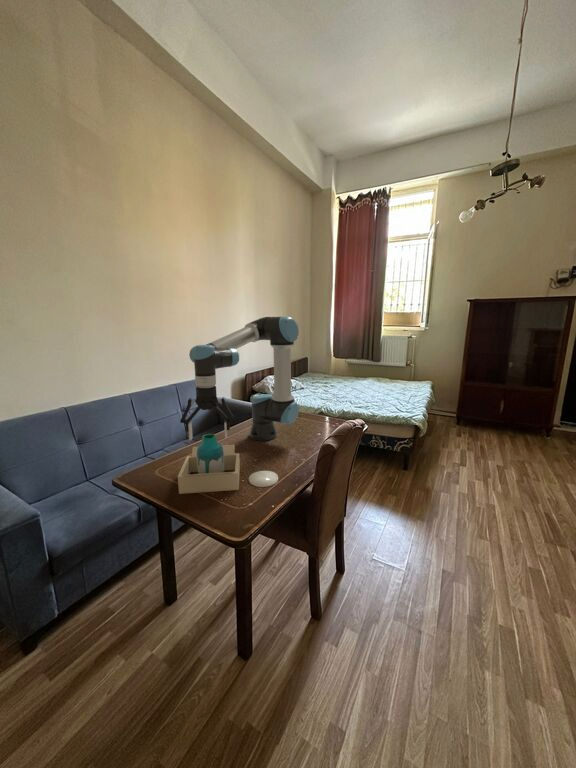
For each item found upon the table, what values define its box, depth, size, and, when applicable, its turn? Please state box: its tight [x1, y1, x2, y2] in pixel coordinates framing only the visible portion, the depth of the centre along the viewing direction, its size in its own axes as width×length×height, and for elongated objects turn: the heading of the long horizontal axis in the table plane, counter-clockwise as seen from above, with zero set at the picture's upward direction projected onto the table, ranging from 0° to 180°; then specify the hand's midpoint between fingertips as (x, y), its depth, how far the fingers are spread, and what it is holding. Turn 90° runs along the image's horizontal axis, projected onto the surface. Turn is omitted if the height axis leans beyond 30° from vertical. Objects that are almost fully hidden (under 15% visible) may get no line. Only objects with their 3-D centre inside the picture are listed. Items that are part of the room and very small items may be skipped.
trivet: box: [248, 470, 279, 488], centre depth 128 cm, size 12×12×1 cm
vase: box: [197, 433, 225, 474], centre depth 125 cm, size 11×11×19 cm
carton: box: [177, 444, 241, 495], centre depth 126 cm, size 25×22×10 cm
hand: (208, 438), depth 123 cm, fingers open, 13 cm apart
